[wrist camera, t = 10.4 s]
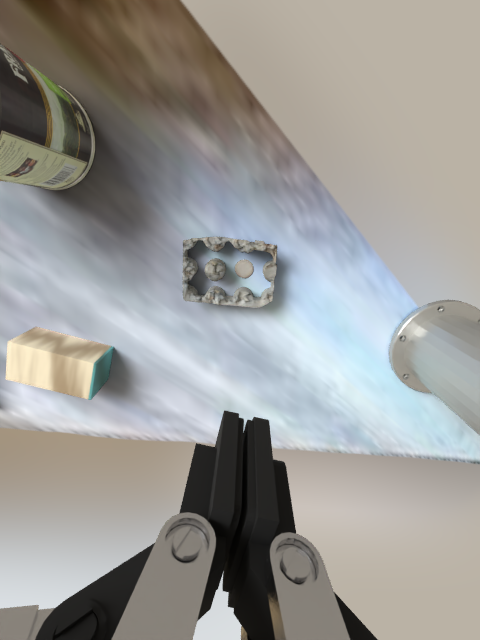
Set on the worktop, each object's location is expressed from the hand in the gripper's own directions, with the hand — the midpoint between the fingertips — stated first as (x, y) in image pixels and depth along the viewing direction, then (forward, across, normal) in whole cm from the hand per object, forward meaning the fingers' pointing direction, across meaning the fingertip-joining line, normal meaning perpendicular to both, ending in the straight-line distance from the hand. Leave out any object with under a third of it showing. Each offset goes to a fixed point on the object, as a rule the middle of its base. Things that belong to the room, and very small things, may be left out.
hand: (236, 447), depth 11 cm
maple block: (+25, +15, +14) cm, 32 cm away
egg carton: (+28, +2, -2) cm, 28 cm away
